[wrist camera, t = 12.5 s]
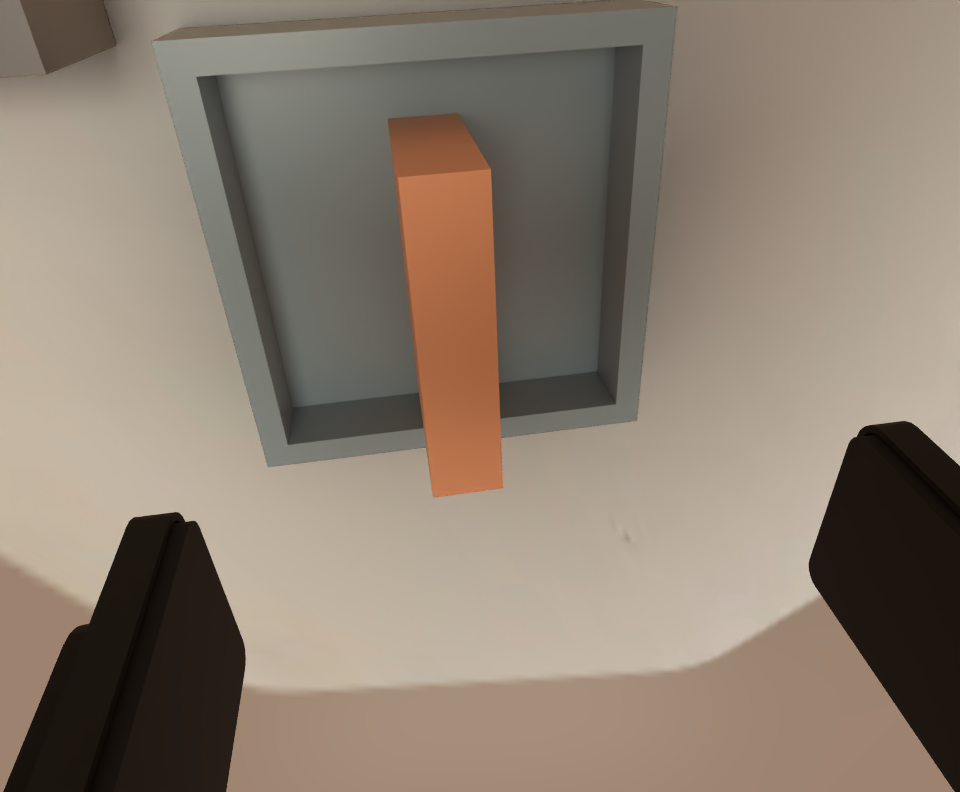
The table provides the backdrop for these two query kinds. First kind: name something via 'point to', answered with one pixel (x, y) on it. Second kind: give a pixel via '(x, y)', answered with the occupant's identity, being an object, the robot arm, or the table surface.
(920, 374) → the table surface
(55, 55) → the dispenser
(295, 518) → the table surface
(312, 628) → the table surface
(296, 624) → the table surface
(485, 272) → the upright orange panel
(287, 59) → the tray
